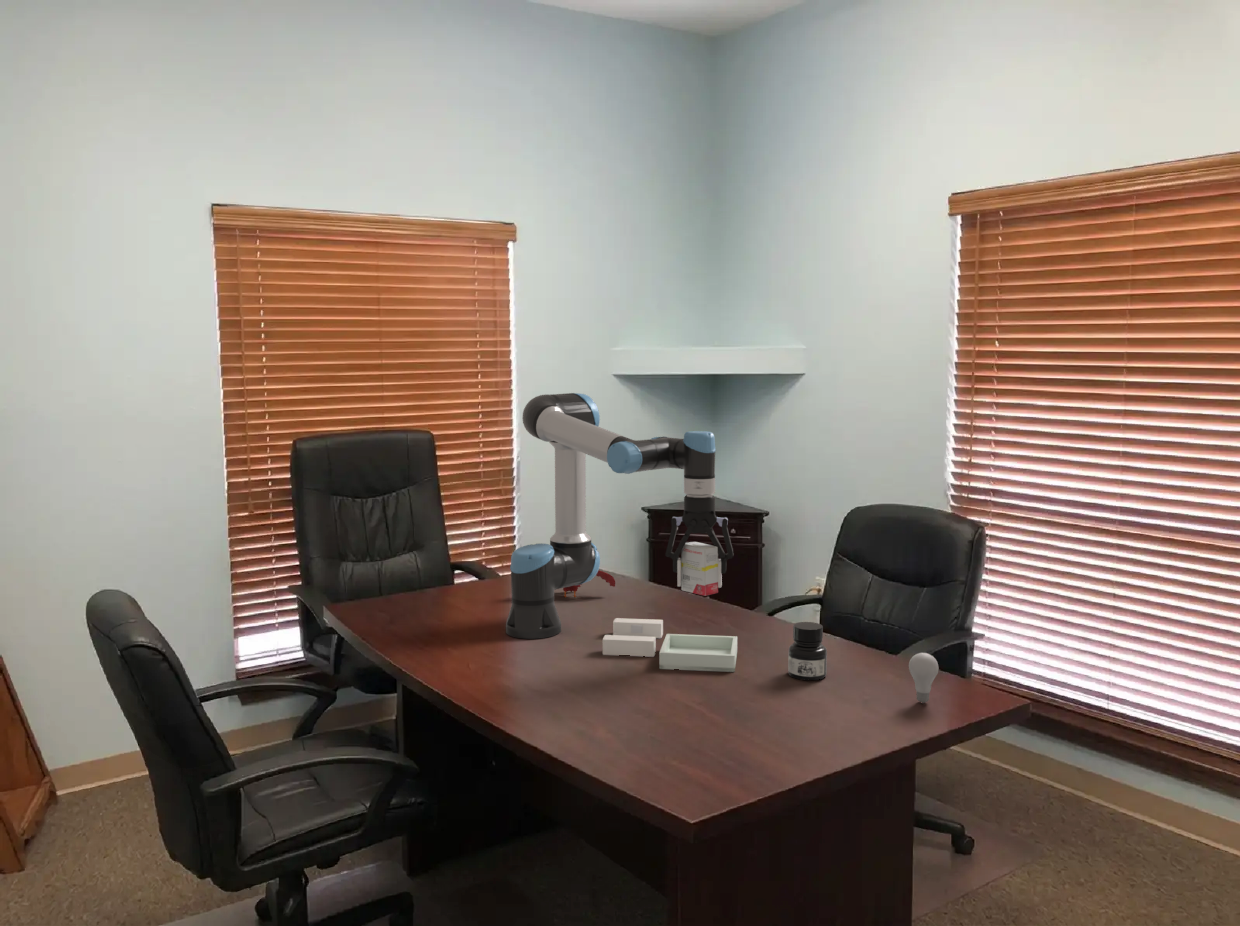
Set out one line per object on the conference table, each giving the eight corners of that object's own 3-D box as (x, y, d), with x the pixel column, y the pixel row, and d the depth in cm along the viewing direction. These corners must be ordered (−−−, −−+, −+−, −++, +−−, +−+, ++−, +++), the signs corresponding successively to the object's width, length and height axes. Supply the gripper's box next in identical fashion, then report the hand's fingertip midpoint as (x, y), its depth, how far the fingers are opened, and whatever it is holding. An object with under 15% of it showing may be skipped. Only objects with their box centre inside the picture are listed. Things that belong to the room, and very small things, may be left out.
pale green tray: (659, 668, 233) (659, 652, 233) (666, 648, 249) (666, 633, 248) (734, 672, 230) (734, 655, 230) (737, 651, 246) (737, 636, 245)
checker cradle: (602, 654, 244) (602, 639, 244) (615, 632, 264) (615, 618, 264) (653, 656, 242) (653, 641, 242) (663, 634, 262) (662, 619, 261)
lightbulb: (933, 709, 205) (934, 659, 204) (904, 704, 208) (905, 654, 207) (940, 701, 210) (942, 651, 209) (912, 696, 213) (913, 647, 212)
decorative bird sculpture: (526, 609, 305) (522, 582, 294) (527, 584, 311) (524, 557, 300) (615, 608, 306) (615, 581, 294) (615, 583, 312) (615, 556, 300)
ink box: (719, 593, 236) (719, 545, 234) (704, 596, 233) (704, 548, 231) (694, 587, 242) (694, 540, 241) (680, 590, 239) (680, 543, 238)
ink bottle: (782, 678, 225) (783, 628, 224) (790, 667, 233) (791, 618, 232) (824, 683, 222) (825, 632, 220) (831, 672, 230) (832, 622, 228)
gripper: (652, 496, 233) (653, 588, 235) (744, 497, 229) (744, 590, 232) (656, 492, 240) (657, 580, 243) (745, 493, 237) (745, 583, 239)
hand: (699, 585), depth 237 cm, fingers closed on ink box, 9 cm apart
